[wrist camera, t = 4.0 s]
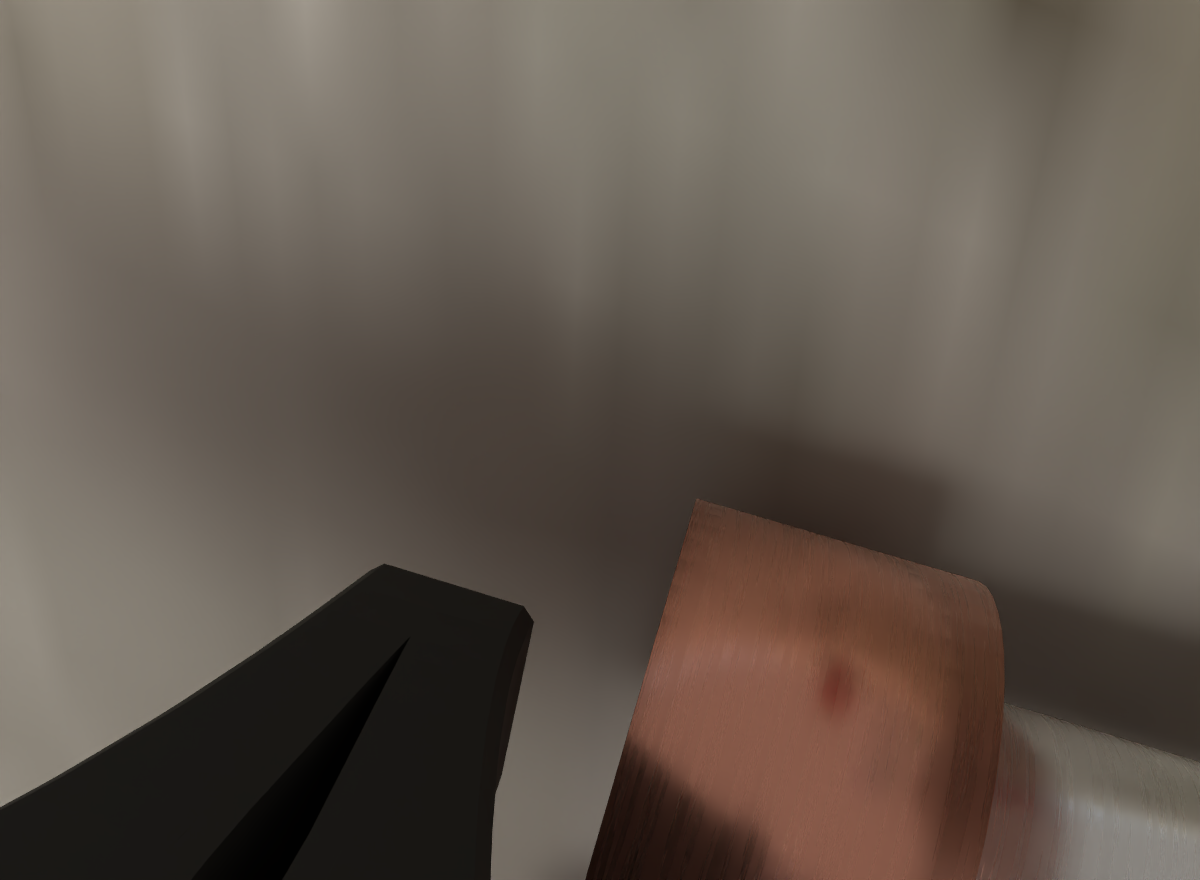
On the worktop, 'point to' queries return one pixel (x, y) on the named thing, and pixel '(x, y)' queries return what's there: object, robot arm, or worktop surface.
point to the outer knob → (865, 734)
